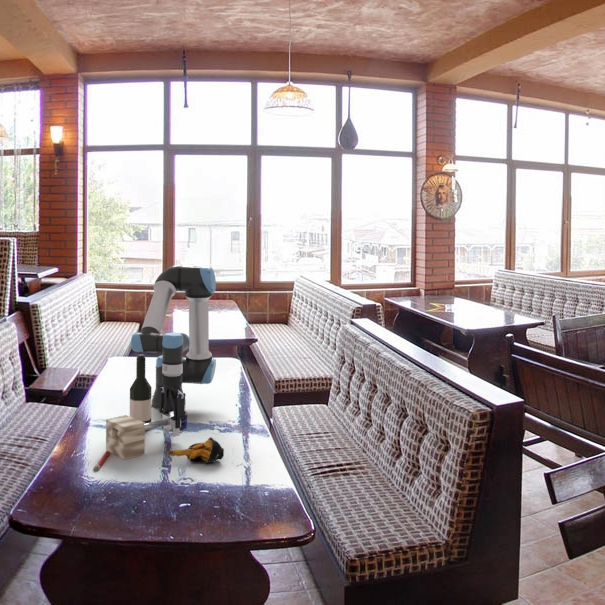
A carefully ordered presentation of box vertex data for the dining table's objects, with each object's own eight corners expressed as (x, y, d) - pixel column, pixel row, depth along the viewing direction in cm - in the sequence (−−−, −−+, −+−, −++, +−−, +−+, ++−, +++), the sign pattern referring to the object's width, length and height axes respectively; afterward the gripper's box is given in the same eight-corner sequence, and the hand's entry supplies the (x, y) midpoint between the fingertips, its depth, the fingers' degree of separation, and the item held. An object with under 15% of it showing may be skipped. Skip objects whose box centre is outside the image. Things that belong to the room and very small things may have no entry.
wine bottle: (155, 427, 250) (156, 354, 246) (141, 433, 242) (142, 357, 239) (139, 424, 253) (139, 352, 250) (125, 429, 246) (125, 355, 242)
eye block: (106, 450, 222) (106, 419, 221) (127, 445, 228) (127, 414, 227) (124, 459, 214) (124, 427, 213) (146, 453, 220) (146, 422, 219)
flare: (93, 471, 203) (93, 466, 203) (105, 455, 218) (105, 450, 218) (98, 471, 203) (98, 466, 203) (110, 455, 218) (110, 450, 218)
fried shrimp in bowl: (229, 453, 211) (178, 441, 204) (216, 476, 215) (166, 465, 208) (226, 435, 219) (178, 423, 212) (213, 458, 223) (166, 447, 216)
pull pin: (113, 438, 220) (114, 425, 219) (172, 424, 239) (173, 411, 238) (121, 442, 216) (121, 428, 216) (180, 427, 235) (181, 414, 235)
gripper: (149, 371, 236) (149, 430, 239) (179, 380, 224) (178, 442, 227) (166, 368, 242) (165, 426, 244) (195, 377, 230) (194, 437, 232)
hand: (171, 434), depth 236 cm, fingers closed on pull pin, 5 cm apart
